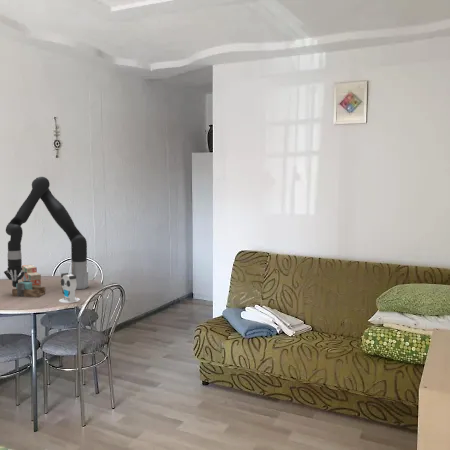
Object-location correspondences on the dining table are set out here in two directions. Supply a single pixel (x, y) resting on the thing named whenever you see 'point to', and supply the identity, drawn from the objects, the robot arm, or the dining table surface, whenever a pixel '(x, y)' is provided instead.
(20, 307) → the dining table surface
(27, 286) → the block
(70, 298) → the panda figurine
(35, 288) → the wooden rail tray
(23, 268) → the stack of blocks
